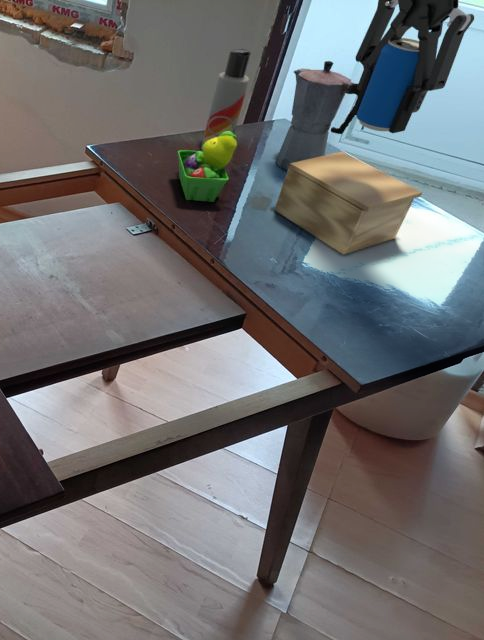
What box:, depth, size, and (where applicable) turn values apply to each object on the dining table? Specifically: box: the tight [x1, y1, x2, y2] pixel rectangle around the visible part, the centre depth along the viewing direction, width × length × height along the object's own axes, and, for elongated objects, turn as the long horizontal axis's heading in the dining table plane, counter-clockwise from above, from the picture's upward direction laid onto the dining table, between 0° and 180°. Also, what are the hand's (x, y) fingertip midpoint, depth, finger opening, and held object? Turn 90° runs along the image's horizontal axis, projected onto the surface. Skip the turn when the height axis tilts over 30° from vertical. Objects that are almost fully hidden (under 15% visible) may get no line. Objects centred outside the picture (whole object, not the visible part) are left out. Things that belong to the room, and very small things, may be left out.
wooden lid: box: [289, 151, 423, 212], centre depth 112 cm, size 16×13×1 cm
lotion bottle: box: [200, 48, 252, 152], centre depth 133 cm, size 6×6×20 cm
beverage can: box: [355, 37, 419, 132], centre depth 102 cm, size 6×6×12 cm
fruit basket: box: [177, 131, 238, 203], centre depth 123 cm, size 11×9×11 cm
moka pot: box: [275, 60, 360, 171], centre depth 130 cm, size 10×15×20 cm, turn 40°
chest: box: [274, 168, 415, 255], centre depth 116 cm, size 16×13×9 cm
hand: (377, 121), depth 106 cm, fingers closed on beverage can, 6 cm apart
